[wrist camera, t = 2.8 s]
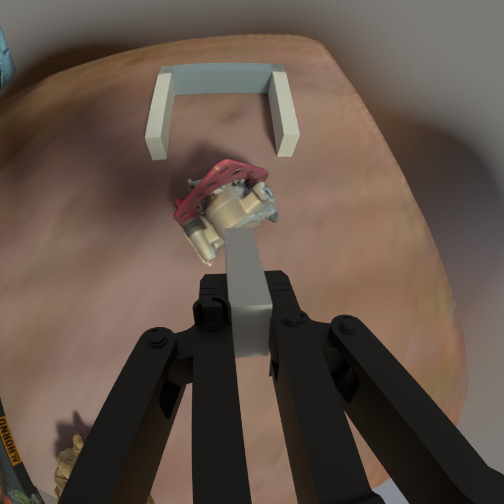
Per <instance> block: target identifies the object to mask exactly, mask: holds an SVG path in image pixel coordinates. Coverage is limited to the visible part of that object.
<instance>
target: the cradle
mask: <svg viewBox="0 0 504 504" xmlns="http://www.w3.org/2000/svg"><path fill="white" fill-rule="evenodd" d="M208 93H261V94H268V97H269V103H270V109H271V116H272V123H273V130H274V137H275V144H276V151H277V157H292V154H293V151H294V149H295V146H296V144H297V141H298V138H299V136H300V134H299V129H298V124H297V119H296V115H295V110H294V106H293V101H292V97H291V92H290V88H289V84H288V80H287V76H286V72H285V68H284V65H276V64H258V63H203V64H186V65H174V66H164V67H160V70H159V74H158V78H157V82H156V86H155V90H154V95H153V99H152V104H151V108H150V113H149V118H148V123H147V129H146V134H145V140H146V143H147V146H148V149H149V152H150V155H151V157H152V160H164V159H167V152H168V143H169V134H170V126H171V118H172V111H173V104H174V97H175V95H188V94H208Z"/></svg>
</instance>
